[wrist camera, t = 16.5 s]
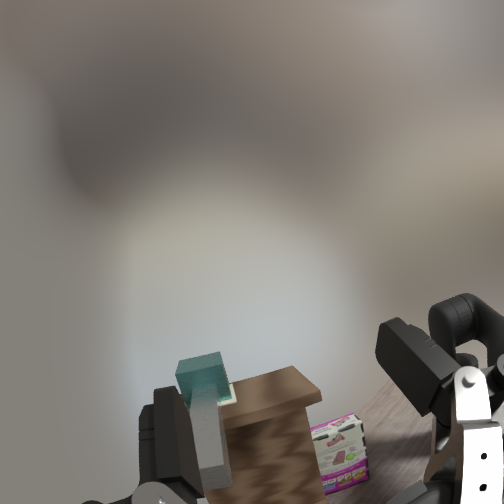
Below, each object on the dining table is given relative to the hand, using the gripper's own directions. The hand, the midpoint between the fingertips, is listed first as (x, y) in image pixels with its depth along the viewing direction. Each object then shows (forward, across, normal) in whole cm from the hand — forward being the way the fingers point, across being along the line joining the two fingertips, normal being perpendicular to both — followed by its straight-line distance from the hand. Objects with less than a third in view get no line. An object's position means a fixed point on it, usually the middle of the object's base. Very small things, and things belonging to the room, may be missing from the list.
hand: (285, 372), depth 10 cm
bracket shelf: (+1, +3, +50) cm, 51 cm away
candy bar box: (+9, -12, +55) cm, 57 cm away
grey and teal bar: (+12, +6, +19) cm, 23 cm away
